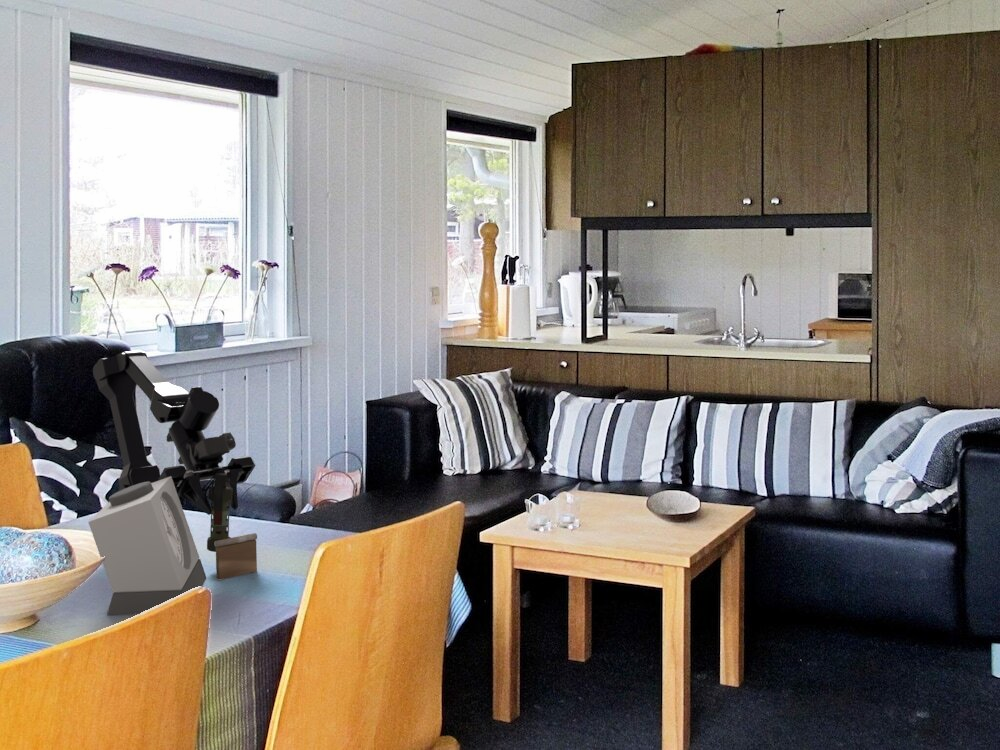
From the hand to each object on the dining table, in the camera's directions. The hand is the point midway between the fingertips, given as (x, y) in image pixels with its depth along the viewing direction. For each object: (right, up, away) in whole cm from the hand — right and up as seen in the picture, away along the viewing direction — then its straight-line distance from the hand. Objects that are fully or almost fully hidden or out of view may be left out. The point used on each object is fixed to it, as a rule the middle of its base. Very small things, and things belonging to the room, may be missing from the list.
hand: (223, 511), depth 213 cm
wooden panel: (+3, -12, -2) cm, 12 cm away
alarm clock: (-9, -13, -15) cm, 22 cm away
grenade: (-2, -8, +1) cm, 8 cm away
